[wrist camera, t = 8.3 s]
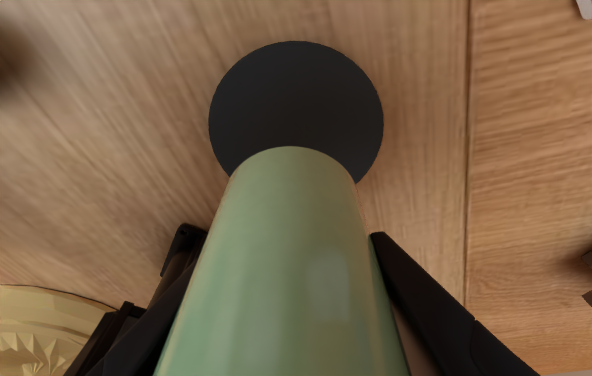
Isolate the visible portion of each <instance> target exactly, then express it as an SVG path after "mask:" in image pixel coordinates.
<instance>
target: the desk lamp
mask: <svg viewBox="0 0 592 376" xmlns="http://www.w3.org/2000/svg"><path fill="white" fill-rule="evenodd" d="M113 311H116V310H115V309H112V308H110V307H108V306H106V305H104V304H101V303H98V302H95V301H92V300H89V299H85V298H82V297H79V296H76V295H72V294H68V293H63V292H58V291H53V290H48V289H44V288H39V287H34V286H11V285H0V376H63V375H64V373H65V372H66V370H67V369H68V368H69V366H70V365H71V363H72V362H73V361H74V359H75V358H76V357H77V355H78V354H79V352H80V351H81V350H82V348H83V347H84V345H85V344H86V342H87V341H88V339H89V338H90V336H91V335H92V333H93V332H94V330H95V328H96V327H97V325H98V324H99V322H100V320H101V319H102V317H103V315H104V314H105V312H113Z"/></svg>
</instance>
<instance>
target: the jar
mask: <svg viewBox="0 0 592 376" xmlns="http://www.w3.org/2000/svg"><path fill="white" fill-rule="evenodd" d="M152 376H412V372H411V369H410V366H409V362H408V359H407V356H406V352H405V349H404V346H403V342H402V339H401V336H400V332H399V329H398V326H397V322H396V319H395V316H394V312H393V309H392V306H391V302H390V299H389V296H388V292H387V289H386V286H385V282H384V279H383V276H382V272H381V269H380V266H379V262H378V259H377V256H376V252H375V249H374V246H373V242H372V239H371V236H370V232H369V229H368V225H367V222H366V219H365V215H364V212H363V209H362V205H361V202H360V199H359V195H358V192H357V189H356V186H355V183H354V181H353V179H352V177H351V176H350V174H349V173H348V171H347V170H346V169H345V168H344V167H343V166H342V165H341V164H340V163H338V162H337V161H336V160H334V159H333V158H331V157H330V156H328V155H326V154H324V153H321V152H319V151H316V150H313V149H309V148H304V147H296V146H285V147H276V148H272V149H268V150H265V151H262V152H259V153H257V154H255V155H253V156H251V157H250V158H248V159H247V160H245V161H244V162H243V163H242V164H241V165H239V166H238V167H237V169H236V170H235V171H234V172H233V174H232V175H231V177H230V179H229V181H228V183H227V186H226V189H225V191H224V194H223V196H222V199H221V201H220V204H219V206H218V209H217V212H216V214H215V217H214V219H213V222H212V224H211V227H210V229H209V232H208V235H207V237H206V240H205V242H204V245H203V247H202V250H201V253H200V255H199V258H198V260H197V263H196V265H195V268H194V270H193V273H192V276H191V278H190V281H189V283H188V286H187V288H186V291H185V293H184V296H183V299H182V301H181V304H180V306H179V309H178V311H177V314H176V317H175V319H174V322H173V324H172V327H171V329H170V332H169V334H168V337H167V340H166V342H165V345H164V347H163V350H162V352H161V355H160V358H159V360H158V363H157V365H156V368H155V370H154V373H153V375H152Z"/></svg>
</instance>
